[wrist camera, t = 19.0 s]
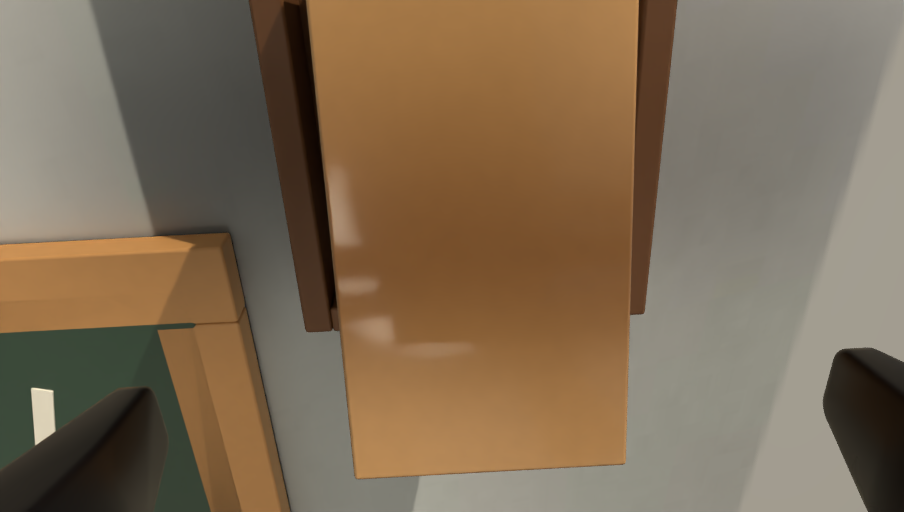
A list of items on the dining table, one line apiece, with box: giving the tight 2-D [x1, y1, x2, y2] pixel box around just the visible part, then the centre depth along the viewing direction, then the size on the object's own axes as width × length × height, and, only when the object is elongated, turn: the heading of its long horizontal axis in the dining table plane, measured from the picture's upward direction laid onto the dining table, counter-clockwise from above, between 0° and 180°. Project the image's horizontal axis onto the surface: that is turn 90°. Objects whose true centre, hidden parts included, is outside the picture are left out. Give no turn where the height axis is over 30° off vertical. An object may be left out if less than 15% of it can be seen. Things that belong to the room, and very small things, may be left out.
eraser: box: [306, 0, 639, 479], centre depth 12 cm, size 9×4×4 cm, turn 2°
